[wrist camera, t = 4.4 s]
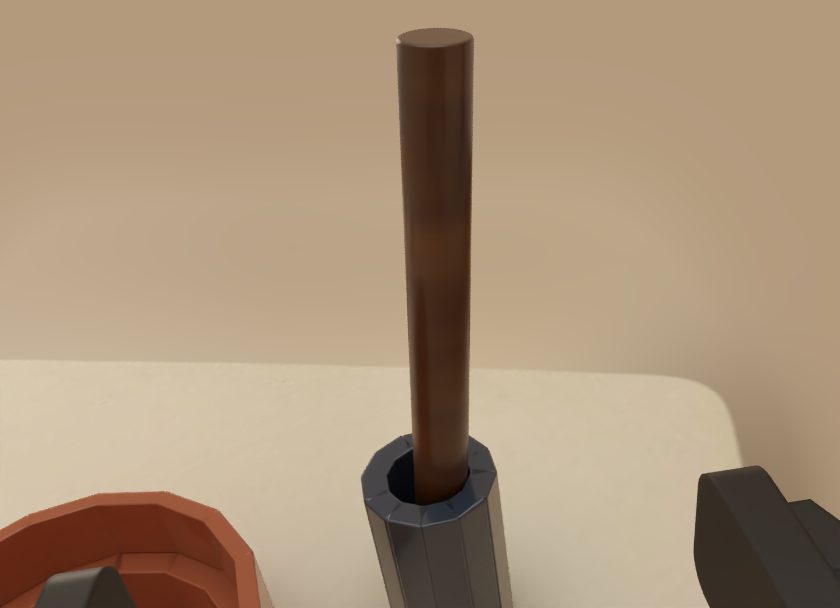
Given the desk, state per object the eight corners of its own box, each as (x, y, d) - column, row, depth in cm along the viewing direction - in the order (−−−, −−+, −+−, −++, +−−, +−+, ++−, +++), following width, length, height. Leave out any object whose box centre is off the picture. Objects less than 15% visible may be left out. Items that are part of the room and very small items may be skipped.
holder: (537, 621, 25) (523, 470, 22) (449, 701, 23) (418, 549, 20) (459, 555, 28) (435, 412, 25) (375, 621, 26) (336, 476, 23)
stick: (476, 609, 25) (489, 35, 15) (442, 639, 25) (432, 49, 14) (443, 580, 27) (436, 23, 16) (409, 608, 26) (380, 37, 15)
